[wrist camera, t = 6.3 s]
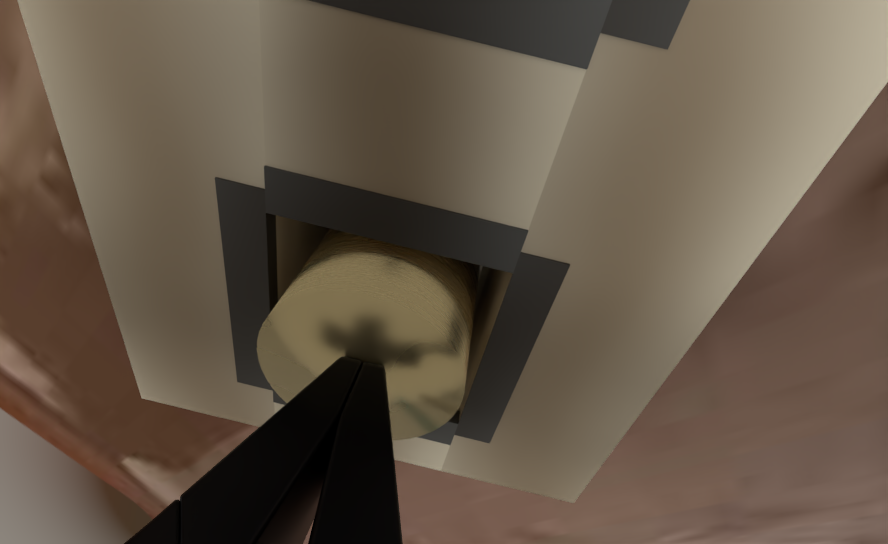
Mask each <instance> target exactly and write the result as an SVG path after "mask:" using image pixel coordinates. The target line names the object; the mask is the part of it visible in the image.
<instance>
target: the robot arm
mask: <svg viewBox="0 0 888 544" xmlns="http://www.w3.org/2000/svg"><path fill="white" fill-rule="evenodd" d="M314 517H315V518H314ZM313 520H314V522H313ZM312 522H313V526H312V531H311V535H310V539H309V543H308V544H403V543H402V533H401V523H400V513H399V503H398V493H397V483H396V473H395V463H394V453H393V442H392V432H391V422H390V412H389V402H388V392H387V382H386V372H385V368H384V366H382V365H379V364H375V363H370V362H364V363H362V361H361V360H358V359H354V358H350V357H346V356H343V357H340V358H339V359H337V360H336V361H335V362H334V363H333V364H332V365H330V366H329V367H328V368H327V369H326V370H325V371H324V372H322V373H321V374H320V375H319V376H318V377H317V378H315V379H314V380H313V381H312V382H311V383H310V384H309V385H307V386H306V387H305V388H304V389H303V390H302V391H301V392H299V393H298V394H297V395H296V396H295V397H294V398H292V399H291V400H290V401H289V402H288V403H287V404H286V405H284V406H283V407H282V408H281V409H280V410H279V411H277V412H276V413H275V414H274V415H273V416H272V417H271V418H269V419H268V420H267V421H266V422H265V423H264V424H263V425H261V426H260V427H259V428H258V429H257V430H256V431H254V432H253V433H252V434H251V435H250V436H249V437H248V438H246V439H245V440H244V441H243V442H242V443H241V444H240V445H238V446H237V447H236V448H235V449H234V450H233V451H231V452H230V453H229V454H228V455H227V456H226V457H225V458H223V459H222V460H221V461H220V462H219V463H218V464H217V465H215V466H214V467H213V468H212V469H211V470H210V471H208V472H207V473H206V474H205V475H204V476H203V477H202V478H200V479H199V480H198V481H197V482H196V483H195V484H193V485H192V486H191V487H190V488H189V489H188V490H187V491H185V492H184V493H183V494H182V495H181V497H180V501H179V500H175V501H174V502H172V503H171V504H170V505H169V506H168V507H167V508H166V509H164V510H163V511H162V512H161V513H160V514H159V515H158V516H156V517H155V518H154V519H153V520H152V521H151V522H149V523H148V524H147V525H146V526H145V527H143V528H142V529H141V530H140V531H139V532H138V533H136V534H135V535H134V536H133V537H131V538H130V539H129V540H128V541H127V542H125V543H124V544H303V542H304V540H305V538H306V535H307V533H308V531H309V529H310V526H311V524H312Z"/></svg>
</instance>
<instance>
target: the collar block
mask: <svg viewBox="0 0 888 544" xmlns="http://www.w3.org/2000/svg"><path fill="white" fill-rule="evenodd" d="M17 1H18V4H19V7H20V10H21V14H22V17H23V20H24V23H25V26H26V30H27V33H28V36H29V39H30V42H31V46H32V49H33V52H34V55H35V58H36V62H37V65H38V68H39V71H40V74H41V78H42V81H43V84H44V87H45V90H46V94H47V97H48V100H49V103H50V106H51V110H52V113H53V116H54V119H55V122H56V126H57V129H58V132H59V135H60V138H61V142H62V145H63V148H64V151H65V154H66V158H67V161H68V164H69V167H70V170H71V174H72V177H73V180H74V183H75V186H76V190H77V193H78V196H79V199H80V202H81V206H82V209H83V212H84V215H85V218H86V222H87V225H88V228H89V231H90V234H91V238H92V241H93V244H94V247H95V250H96V254H97V257H98V260H99V263H100V266H101V270H102V273H103V276H104V279H105V282H106V286H107V289H108V292H109V295H110V298H111V302H112V305H113V308H114V311H115V314H116V318H117V321H118V324H119V327H120V330H121V334H122V337H123V340H124V343H125V346H126V350H127V353H128V356H129V359H130V362H131V366H132V369H133V372H134V375H135V378H136V382H137V385H138V388H139V391H140V394H141V398H143V399H147V400H151V401H155V402H160V403H164V404H168V405H172V406H176V407H180V408H184V409H188V410H193V411H197V412H201V413H205V414H209V415H213V416H217V417H221V418H225V419H230V420H234V421H238V422H242V423H246V424H250V425H254V426H258V427H260V426H261V425H263V424H264V423H265V422H266V421H267V420H268V419H269V418H271V417H272V416H273V415H274V414H275V413H276V412H277V411H279V410H280V409H281V408H282V407H283V406H284V405H286V404H287V403H286V402H285V401H284V400H283V399H282V398H281V397H280V396H279V395H278V394H277V393H276V392H275V390H274V389H273V388H272V387H271V385H270V384H269V382H268V381H267V379H266V377H265V375H264V373H263V371H262V369H261V366H260V363H259V360H258V354H257V339H258V335H259V331H260V329H261V327H262V324H263V322H264V321H265V320H266V318H267V317H268V315H269V314H270V313H271V311H272V310H273V308H274V307H275V305H276V304H277V303H278V301H279V300H280V298H281V297H282V296H283V294H284V293H285V291H286V290H287V289H288V287H289V286H290V284H291V283H292V281H293V280H294V279H295V277H296V276H297V274H298V273H299V272H300V270H301V269H302V267H303V266H304V265H305V263H306V262H307V260H308V259H309V257H310V256H311V255H312V253H313V252H314V250H315V249H316V248H317V246H318V245H319V243H320V242H321V241H322V239H323V238H324V236H325V235H326V233H327V232H328V231H329V229H334V230H338V231H342V232H346V233H350V234H354V235H359V236H363V237H367V238H371V239H375V240H379V241H383V242H387V243H391V244H395V245H399V246H403V247H407V248H411V249H416V250H420V251H424V252H428V253H432V254H436V255H440V256H444V257H448V258H452V259H456V260H460V261H464V262H468V263H473V264H477V265H480V270H479V278H478V287H477V295H476V303H475V311H474V319H473V327H472V335H471V343H470V351H469V360H468V368H467V376H466V384H465V392H464V396H463V400H462V402H461V404H460V407H459V409H458V410H457V411H456V413H455V414H454V416H453V417H452V418H451V419H450V420H449V421H448V422H447V423H445V424H444V425H442V426H441V427H440V428H438V429H436V430H434V431H432V432H430V433H428V434H425V435H422V436H419V437H415V438H411V439H404V440H394V441H392V442H393V453H394V460H398V461H402V462H406V463H411V464H415V465H419V466H423V467H427V468H431V469H435V470H439V471H443V472H448V473H452V474H456V475H460V476H464V477H468V478H472V479H476V480H481V481H485V482H489V483H493V484H497V485H501V486H505V487H509V488H513V489H518V490H522V491H526V492H530V493H534V494H538V495H542V496H546V497H550V498H555V499H559V500H563V501H567V502H571V503H574V502H575V501H576V499H577V498H578V497H579V495H580V494H581V492H582V491H583V490H584V488H585V487H586V486H587V484H588V483H589V482H590V480H591V479H592V478H593V476H594V475H595V474H596V472H597V471H598V470H599V468H600V467H601V466H602V464H603V463H604V462H605V460H606V459H607V458H608V456H609V455H610V454H611V452H612V451H613V450H614V448H615V447H616V446H617V444H618V443H619V442H620V440H621V439H622V438H623V436H624V435H625V433H626V432H627V431H628V429H629V428H630V427H631V425H632V424H633V423H634V421H635V420H636V419H637V417H638V416H639V415H640V413H641V412H642V411H643V409H644V408H645V407H646V405H647V404H648V403H649V401H650V400H651V399H652V397H653V396H654V395H655V393H656V392H657V391H658V389H659V388H660V387H661V385H662V384H663V383H664V381H665V380H666V378H667V377H668V376H669V374H670V373H671V372H672V370H673V369H674V368H675V366H676V365H677V364H678V362H679V361H680V360H681V358H682V357H683V356H684V354H685V353H686V352H687V350H688V349H689V348H690V346H691V345H692V344H693V342H694V341H695V340H696V338H697V337H698V336H699V334H700V333H701V332H702V330H703V329H704V328H705V326H706V325H707V324H708V322H709V321H710V319H711V318H712V317H713V315H714V314H715V313H716V311H717V310H718V309H719V307H720V306H721V305H722V303H723V302H724V301H725V299H726V298H727V297H728V295H729V294H730V293H731V291H732V290H733V289H734V287H735V286H736V285H737V283H738V282H739V281H740V279H741V278H742V277H743V275H744V274H745V273H746V271H747V270H748V269H749V267H750V266H751V265H752V263H753V262H754V260H755V259H756V258H757V256H758V255H759V254H760V252H761V251H762V250H763V248H764V247H765V246H766V244H767V243H768V242H769V240H770V239H771V238H772V236H773V235H774V234H775V232H776V231H777V230H778V228H779V227H780V226H781V224H782V223H783V222H784V220H785V219H786V218H787V216H788V215H789V214H790V212H791V211H792V210H793V208H794V207H795V206H796V204H797V203H798V201H799V200H800V199H801V197H802V196H803V195H804V193H805V192H806V191H807V189H808V188H809V187H810V185H811V184H812V183H813V181H814V180H815V179H816V177H817V176H818V175H819V173H820V172H821V171H822V169H823V168H824V167H825V165H826V164H827V163H828V161H829V160H830V159H831V157H832V156H833V155H834V153H835V152H836V151H837V149H838V148H839V147H840V145H841V144H842V142H843V141H844V140H845V138H846V137H847V136H848V134H849V133H850V132H851V130H852V129H853V128H854V126H855V125H856V124H857V122H858V121H859V120H860V118H861V117H862V116H863V114H864V113H865V112H866V110H867V109H868V108H869V106H870V105H871V104H872V102H873V101H874V100H875V98H876V97H877V96H878V94H879V93H880V92H881V90H882V89H883V88H884V86H885V85H886V83H887V82H888V0H17Z"/></svg>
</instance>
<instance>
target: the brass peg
mask: <svg viewBox="0 0 888 544" xmlns="http://www.w3.org/2000/svg"><path fill="white" fill-rule="evenodd" d="M479 270H480V265H477V264H473V263H468V262H464V261H460V260H456V259H452V258H448V257H444V256H440V255H436V254H432V253H428V252H424V251H420V250H416V249H411V248H407V247H403V246H399V245H395V244H391V243H387V242H383V241H379V240H375V239H371V238H367V237H363V236H359V235H354V234H350V233H346V232H342V231H338V230H334V229H329V231H328V232H327V233H326V235H325V236H324V238H323V239H322V241H321V242H320V243H319V245H318V246H317V248H316V249H315V250H314V252H313V253H312V255H311V256H310V257H309V259H308V260H307V262H306V263H305V265H304V266H303V267H302V269H301V270H300V272H299V273H298V274H297V276H296V277H295V279H294V280H293V281H292V283H291V284H290V286H289V287H288V289H287V290H286V291H285V293H284V294H283V296H282V297H281V298H280V300H279V301H278V303H277V304H276V305H275V307H274V308H273V310H272V311H271V313H270V314H269V315H268V317H267V318H266V320H265V321H264V322H263V324H262V327H261V329H260V331H259V335H258V339H257V354H258V360H259V363H260V366H261V369H262V371H263V373H264V375H265V377H266V379H267V381H268V382H269V384H270V385H271V387H272V388H273V389H274V390H275V392H276V393H277V394H278V395H279V396H280V397H281V398H282V399H283V400H284V401H285V402H286V403H288V402H289V401H290V400H291V399H292V398H294V397H295V396H296V395H297V394H298V393H299V392H301V391H302V390H303V389H304V388H305V387H306V386H307V385H309V384H310V383H311V382H312V381H313V380H314V379H315V378H317V377H318V376H319V375H320V374H321V373H322V372H324V371H325V370H326V369H327V368H328V367H329V366H330V365H332V364H333V363H334V362H335V361H336V360H337V359H339V358H340V357H343V356H346V357H350V358H354V359H358V360H361V361H362V363H364V362H370V363H375V364H379V365H382V366H384V368H385V372H386V382H387V392H388V402H389V412H390V422H391V432H392V441H394V440H404V439H411V438H415V437H419V436H422V435H425V434H428V433H430V432H432V431H434V430H436V429H438V428H440V427H441V426H442V425H444V424H445V423H447V422H448V421H449V420H450V419H451V418H452V417H453V416H454V414H455V413H456V411H457V410H458V409H459V407H460V404H461V402H462V400H463V396H464V392H465V384H466V376H467V368H468V360H469V351H470V343H471V335H472V327H473V319H474V311H475V303H476V295H477V287H478V278H479Z"/></svg>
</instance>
